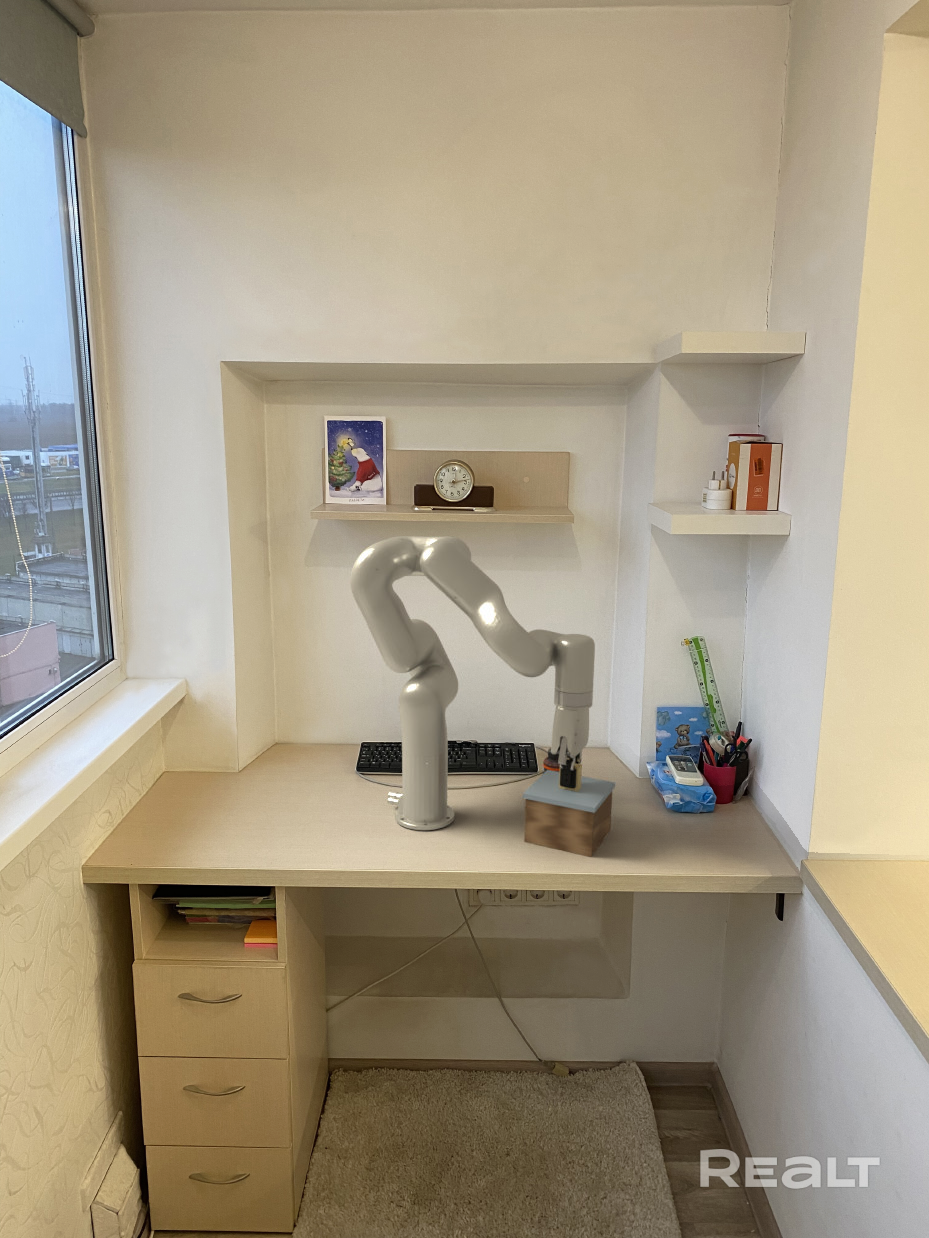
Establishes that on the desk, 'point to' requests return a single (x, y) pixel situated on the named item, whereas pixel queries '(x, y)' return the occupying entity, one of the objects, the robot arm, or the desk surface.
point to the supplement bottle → (551, 762)
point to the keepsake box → (567, 826)
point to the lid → (570, 791)
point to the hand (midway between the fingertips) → (570, 783)
